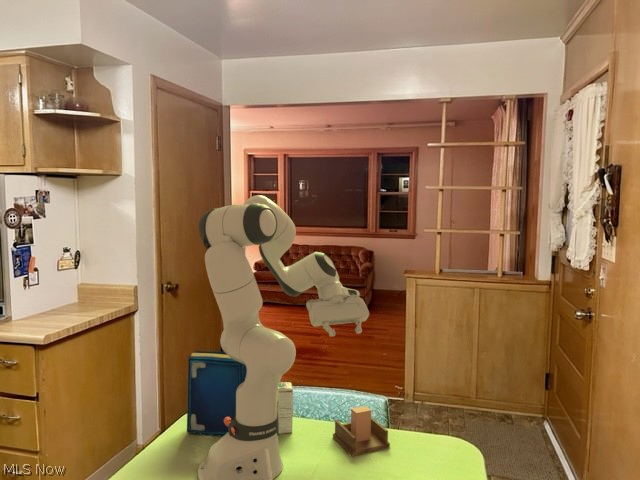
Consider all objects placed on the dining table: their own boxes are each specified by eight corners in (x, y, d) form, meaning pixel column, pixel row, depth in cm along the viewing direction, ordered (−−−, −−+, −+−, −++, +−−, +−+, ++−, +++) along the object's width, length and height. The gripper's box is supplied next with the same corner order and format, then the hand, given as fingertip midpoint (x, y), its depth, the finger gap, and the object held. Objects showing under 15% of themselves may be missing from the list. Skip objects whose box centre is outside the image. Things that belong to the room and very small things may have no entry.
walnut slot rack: (351, 456, 128) (351, 438, 128) (332, 437, 139) (333, 420, 139) (389, 447, 134) (389, 430, 133) (369, 429, 145) (369, 413, 144)
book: (259, 428, 145) (259, 352, 143) (253, 439, 138) (253, 359, 136) (194, 424, 147) (193, 349, 145) (185, 435, 140) (185, 356, 138)
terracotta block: (356, 442, 134) (356, 413, 133) (350, 437, 137) (351, 408, 136) (370, 439, 136) (371, 410, 135) (364, 434, 139) (365, 405, 139)
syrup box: (273, 426, 146) (273, 382, 146) (291, 424, 148) (291, 381, 147) (274, 434, 141) (274, 389, 140) (293, 432, 142) (293, 388, 141)
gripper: (307, 294, 144) (319, 332, 136) (362, 290, 152) (377, 325, 144) (301, 305, 148) (313, 342, 140) (356, 301, 157) (370, 335, 148)
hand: (346, 334), depth 142 cm, fingers open, 8 cm apart
